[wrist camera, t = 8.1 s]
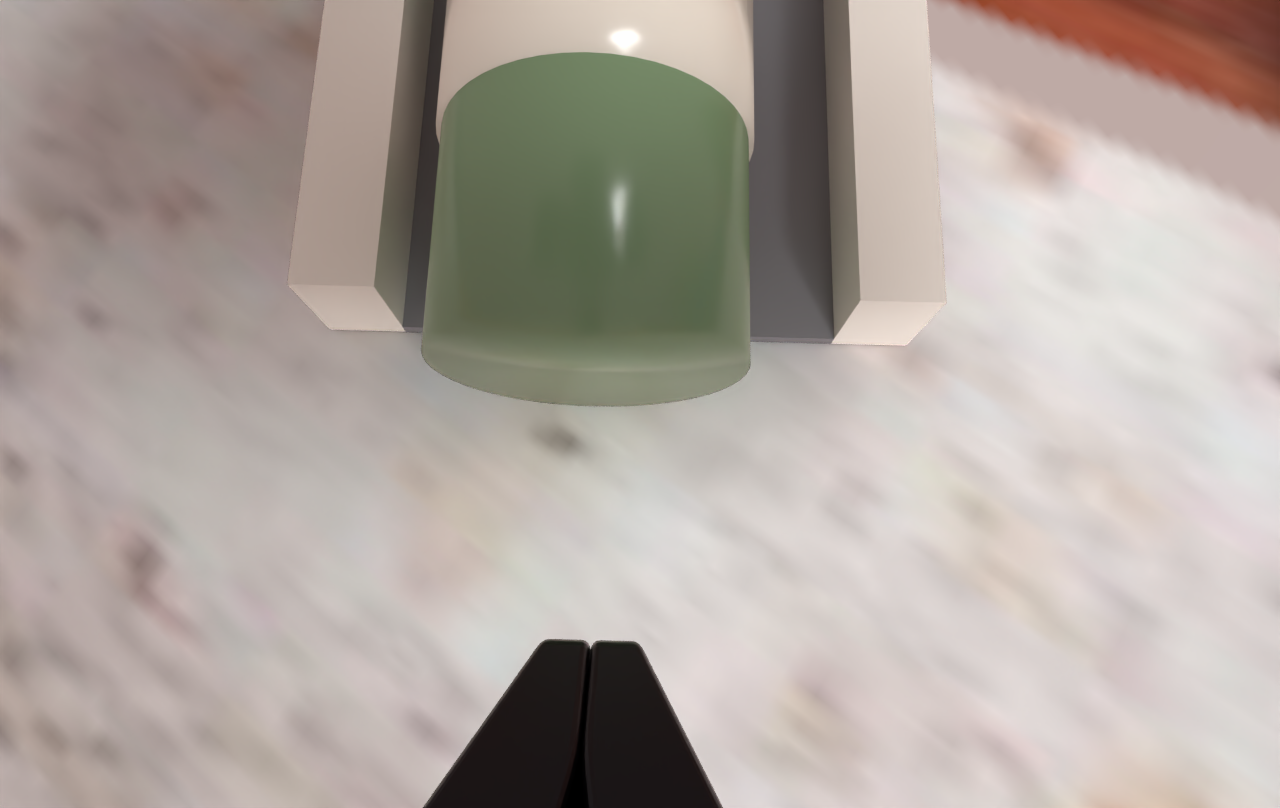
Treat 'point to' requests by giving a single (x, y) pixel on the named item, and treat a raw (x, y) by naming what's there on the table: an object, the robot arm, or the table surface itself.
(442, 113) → the bottle
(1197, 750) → the table surface
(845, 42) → the rest
